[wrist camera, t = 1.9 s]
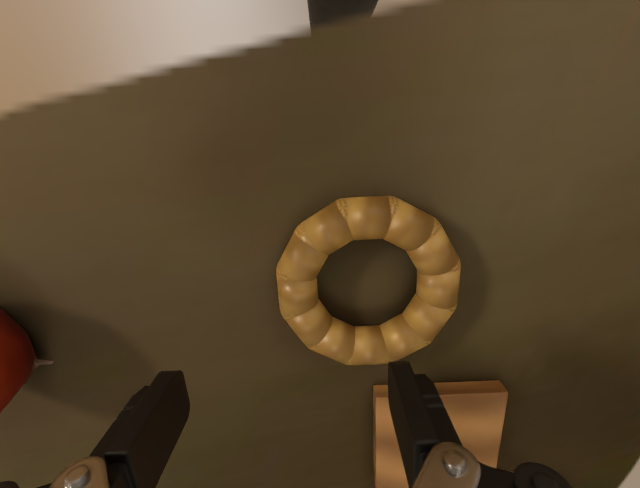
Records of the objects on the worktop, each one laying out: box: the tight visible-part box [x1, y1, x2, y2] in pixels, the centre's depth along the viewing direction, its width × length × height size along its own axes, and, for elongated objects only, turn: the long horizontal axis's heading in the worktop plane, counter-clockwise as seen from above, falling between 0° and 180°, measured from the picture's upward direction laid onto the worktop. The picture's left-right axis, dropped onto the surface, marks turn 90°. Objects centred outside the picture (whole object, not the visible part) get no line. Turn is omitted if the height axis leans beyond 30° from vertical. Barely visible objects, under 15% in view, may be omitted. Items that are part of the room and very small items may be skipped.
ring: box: [276, 195, 461, 365], centre depth 20 cm, size 11×11×2 cm
